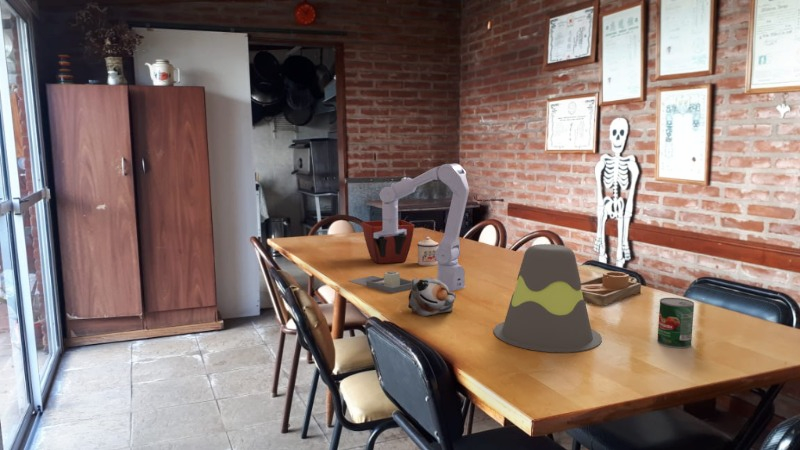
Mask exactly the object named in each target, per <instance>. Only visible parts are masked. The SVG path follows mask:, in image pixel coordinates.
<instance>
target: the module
mask: <svg viewBox="0 0 800 450" xmlns="http://www.w3.org/2000/svg"><path fill="white" fill-rule="evenodd" d="M383 278H384V285H386V286H390V287H396V286H400V278H401V273H400V272H397V271H395V270H391V271H387V272H383Z"/></svg>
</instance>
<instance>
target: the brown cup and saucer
mask: <svg viewBox="0 0 800 450" xmlns="http://www.w3.org/2000/svg"><path fill="white" fill-rule="evenodd" d="M602 277H603V282H602V284H590V285H581V291H585V292H590V293H595V294H600V295H605V294H608V293H611V292H614V291H617V290H620V289H622V288H625V287H628V283H629V278H630V274H627V273H626V272H622V271H604V272H602Z"/></svg>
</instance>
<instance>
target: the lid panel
mask: <svg viewBox="0 0 800 450" xmlns="http://www.w3.org/2000/svg"><path fill="white" fill-rule="evenodd" d="M379 278H380V277H378V276H375V275H370V276H365V277H360V278H359V277H358V278H353V279H349V280H348V282H350V283H353V284H358V285H361V286H365V287H367V285H366V281H369V280H374V279H379Z"/></svg>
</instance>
